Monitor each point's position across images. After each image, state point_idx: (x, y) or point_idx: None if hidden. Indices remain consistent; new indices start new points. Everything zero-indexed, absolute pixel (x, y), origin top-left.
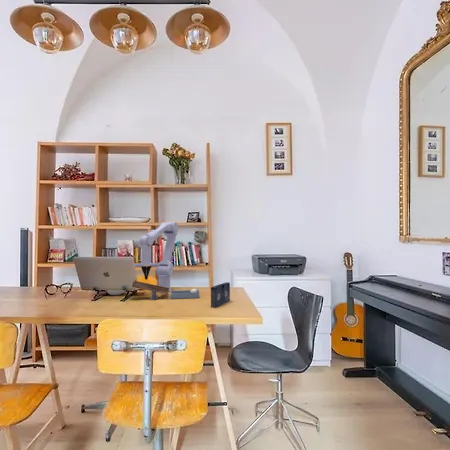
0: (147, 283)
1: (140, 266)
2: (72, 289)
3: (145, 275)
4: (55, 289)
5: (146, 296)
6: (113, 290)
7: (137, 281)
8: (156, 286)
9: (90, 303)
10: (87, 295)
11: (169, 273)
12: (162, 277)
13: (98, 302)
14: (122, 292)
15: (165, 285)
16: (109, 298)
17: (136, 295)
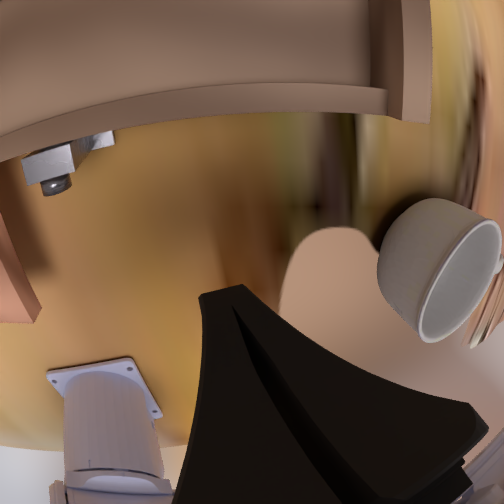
0: (153, 122)
1: (480, 470)
2: (481, 311)
3: (267, 332)
4: (500, 301)
5: (168, 147)
6: (447, 201)
7: (363, 102)
8: (5, 133)
9: (476, 3)
10: (487, 210)
11: (52, 498)
12: (106, 465)
13: (458, 7)
14: (385, 238)
15: (79, 405)
16: (435, 105)
17: (277, 199)
